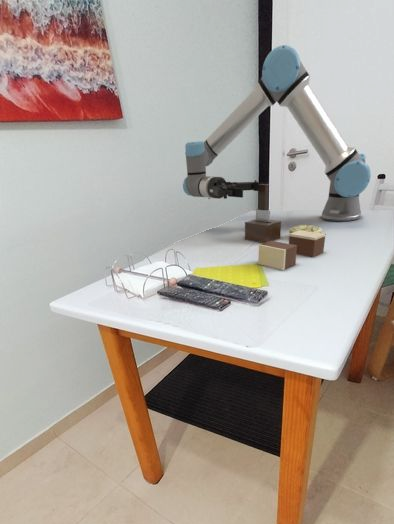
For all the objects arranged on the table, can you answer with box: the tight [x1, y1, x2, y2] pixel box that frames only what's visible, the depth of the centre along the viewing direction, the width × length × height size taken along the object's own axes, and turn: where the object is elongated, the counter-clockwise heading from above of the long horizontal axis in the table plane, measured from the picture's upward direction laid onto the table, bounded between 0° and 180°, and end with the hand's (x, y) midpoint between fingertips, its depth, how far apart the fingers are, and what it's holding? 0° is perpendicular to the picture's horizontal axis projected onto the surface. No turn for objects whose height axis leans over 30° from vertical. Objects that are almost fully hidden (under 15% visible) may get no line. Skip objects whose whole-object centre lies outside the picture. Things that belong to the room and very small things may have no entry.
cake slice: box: [257, 240, 297, 271], centre depth 96 cm, size 6×9×6 cm
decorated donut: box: [288, 224, 323, 234], centre depth 119 cm, size 10×11×4 cm
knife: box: [255, 183, 271, 223], centre depth 118 cm, size 2×6×18 cm, turn 41°
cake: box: [288, 230, 326, 258], centre depth 104 cm, size 6×9×6 cm, turn 41°
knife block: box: [244, 218, 282, 244], centre depth 121 cm, size 8×10×6 cm
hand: (255, 190), depth 117 cm, fingers open, 13 cm apart
